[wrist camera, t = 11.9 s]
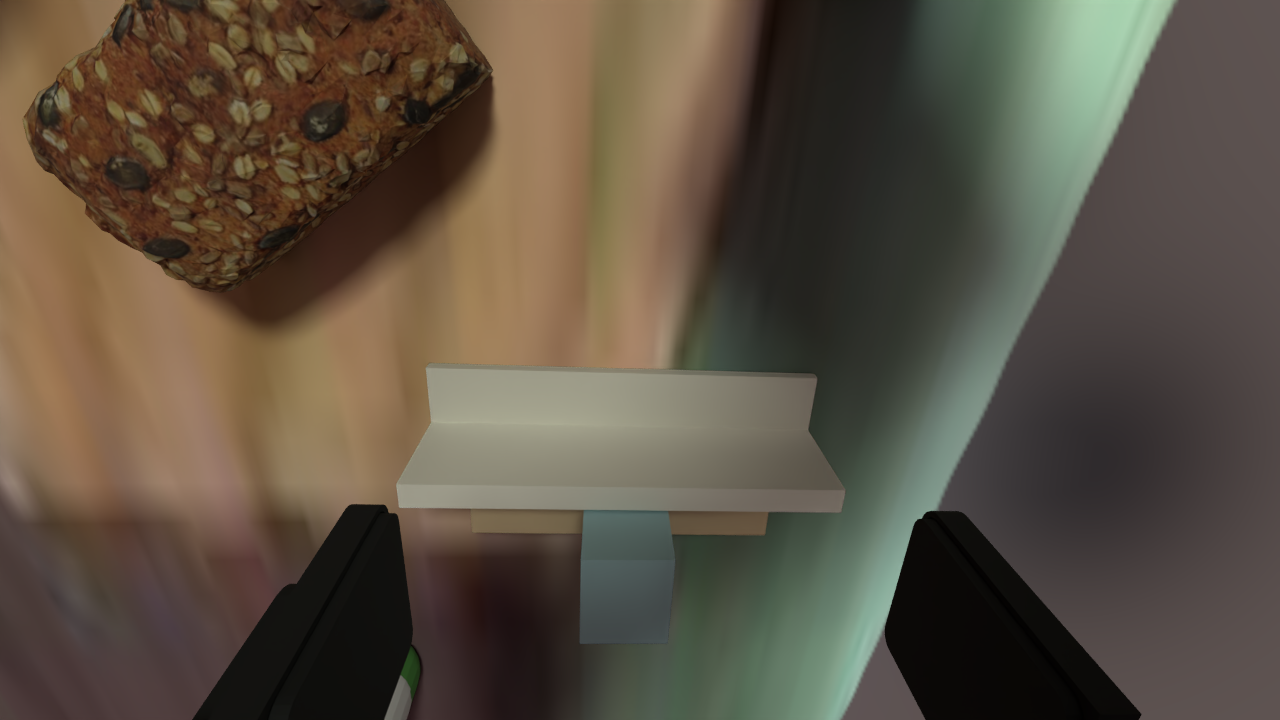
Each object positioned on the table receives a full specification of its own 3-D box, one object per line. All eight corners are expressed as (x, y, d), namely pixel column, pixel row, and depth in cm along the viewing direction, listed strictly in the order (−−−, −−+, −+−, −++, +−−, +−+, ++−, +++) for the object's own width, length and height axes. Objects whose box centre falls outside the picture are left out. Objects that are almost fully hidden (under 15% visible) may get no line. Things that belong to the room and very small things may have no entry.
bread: (373, -111, 29) (267, -210, 20) (512, 83, 33) (476, 73, 24) (127, 122, 33) (-58, 128, 24) (278, 274, 37) (168, 329, 27)
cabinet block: (585, 473, 38) (580, 559, 31) (662, 474, 39) (675, 560, 31) (584, 561, 41) (579, 659, 34) (655, 561, 42) (666, 658, 34)
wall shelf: (429, 363, 39) (388, 421, 32) (813, 373, 41) (859, 431, 34) (441, 496, 43) (407, 575, 36) (790, 500, 45) (826, 577, 38)
